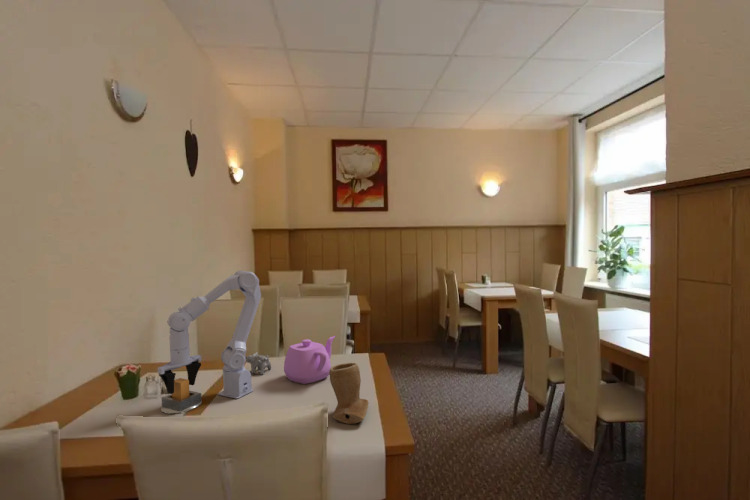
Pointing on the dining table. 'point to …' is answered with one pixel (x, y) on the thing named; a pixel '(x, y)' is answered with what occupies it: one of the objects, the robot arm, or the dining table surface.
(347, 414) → the clay pipe bowl
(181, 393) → the rectangular block
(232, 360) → the robot arm
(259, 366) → the gray elephant figurine
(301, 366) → the teapot
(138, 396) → the dining table surface
